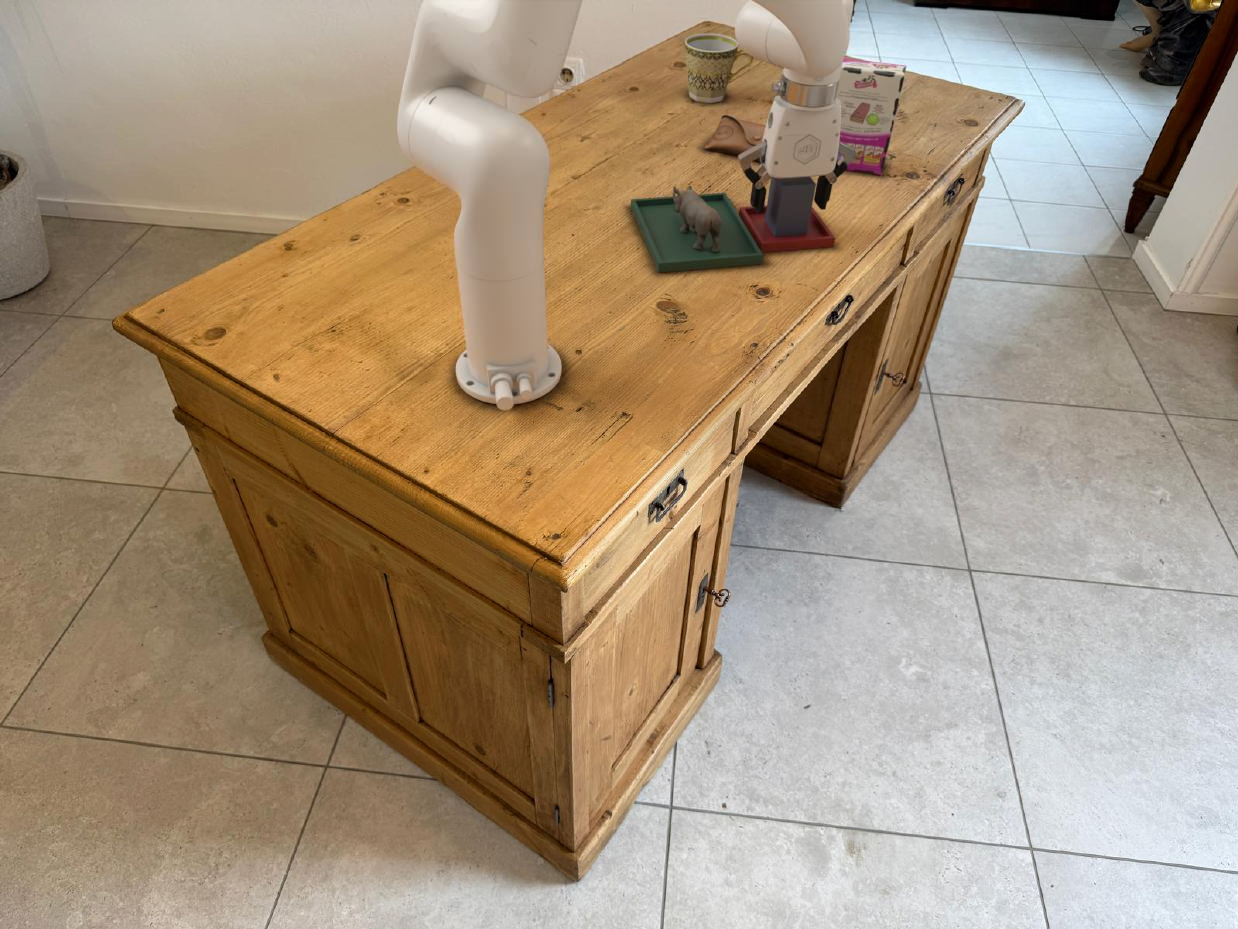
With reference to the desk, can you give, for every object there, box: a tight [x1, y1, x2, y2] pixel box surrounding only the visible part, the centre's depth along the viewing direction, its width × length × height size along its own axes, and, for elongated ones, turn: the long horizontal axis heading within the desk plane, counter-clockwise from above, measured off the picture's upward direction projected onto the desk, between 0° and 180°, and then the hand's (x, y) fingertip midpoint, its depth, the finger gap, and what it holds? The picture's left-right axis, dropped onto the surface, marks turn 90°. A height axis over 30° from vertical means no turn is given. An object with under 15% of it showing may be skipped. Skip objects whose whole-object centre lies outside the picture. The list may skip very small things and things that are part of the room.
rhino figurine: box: [672, 185, 722, 253], centre depth 129 cm, size 4×14×6 cm, turn 21°
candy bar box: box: [836, 58, 907, 176], centre depth 144 cm, size 11×5×16 cm, turn 73°
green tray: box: [630, 192, 764, 273], centre depth 130 cm, size 19×15×2 cm
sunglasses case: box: [703, 114, 766, 163], centre depth 151 cm, size 18×7×7 cm, turn 62°
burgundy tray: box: [738, 204, 836, 254], centre depth 132 cm, size 11×11×2 cm
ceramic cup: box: [684, 32, 754, 104], centre depth 166 cm, size 13×10×10 cm
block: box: [765, 177, 817, 237], centre depth 129 cm, size 5×5×8 cm
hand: (788, 207), depth 130 cm, fingers open, 9 cm apart
